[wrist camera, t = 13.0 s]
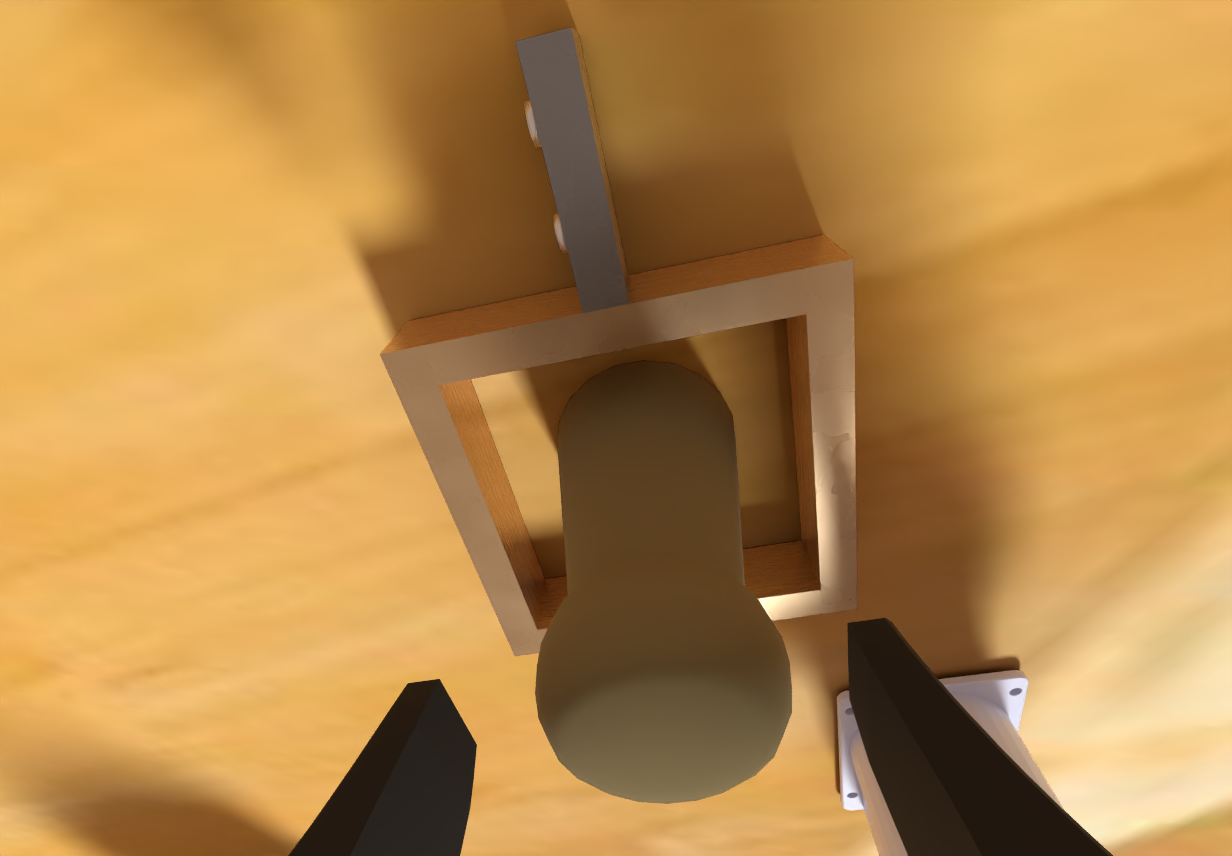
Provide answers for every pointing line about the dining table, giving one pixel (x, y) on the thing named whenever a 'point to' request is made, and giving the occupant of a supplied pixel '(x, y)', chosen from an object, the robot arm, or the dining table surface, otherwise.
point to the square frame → (621, 319)
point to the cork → (657, 597)
